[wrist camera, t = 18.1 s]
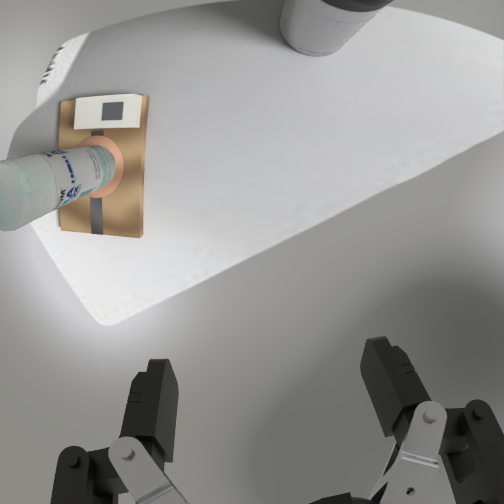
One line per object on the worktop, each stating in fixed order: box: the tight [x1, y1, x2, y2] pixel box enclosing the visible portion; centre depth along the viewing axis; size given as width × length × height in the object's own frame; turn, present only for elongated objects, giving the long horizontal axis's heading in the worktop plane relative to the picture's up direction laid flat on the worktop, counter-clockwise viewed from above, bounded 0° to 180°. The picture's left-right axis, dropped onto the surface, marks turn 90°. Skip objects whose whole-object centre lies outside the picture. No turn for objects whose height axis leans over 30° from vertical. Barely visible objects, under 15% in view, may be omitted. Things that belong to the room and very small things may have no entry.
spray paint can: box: [0, 145, 116, 231], centre depth 30 cm, size 6×6×20 cm
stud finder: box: [74, 94, 142, 130], centre depth 35 cm, size 9×4×3 cm, turn 84°
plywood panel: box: [58, 95, 149, 238], centre depth 40 cm, size 20×14×2 cm
